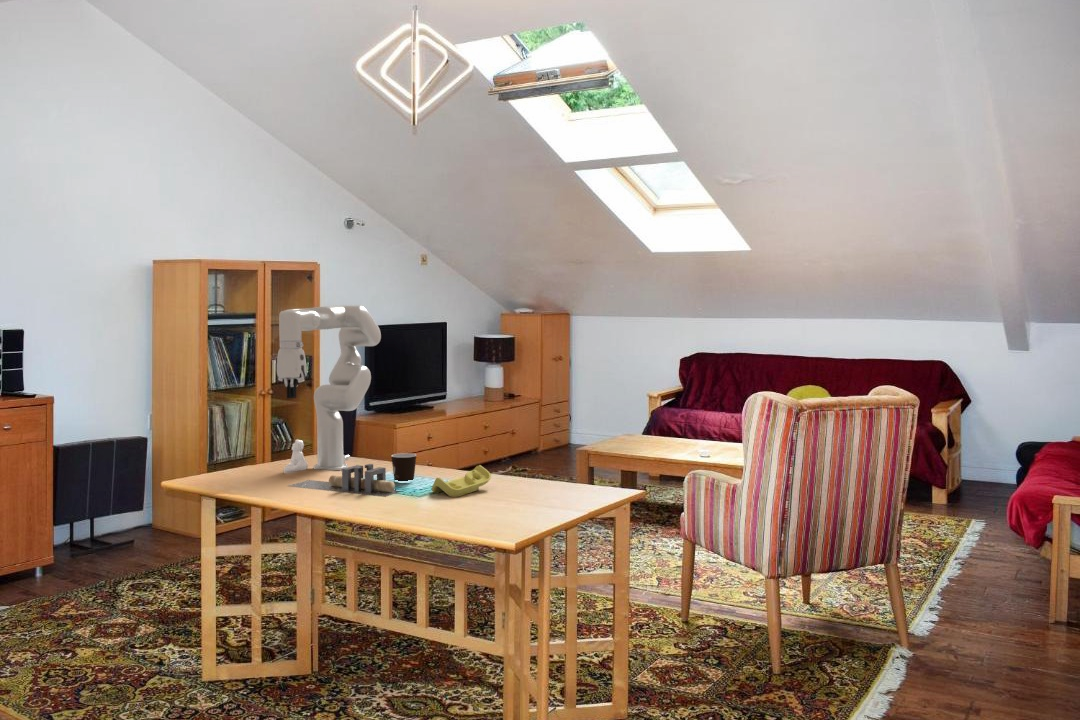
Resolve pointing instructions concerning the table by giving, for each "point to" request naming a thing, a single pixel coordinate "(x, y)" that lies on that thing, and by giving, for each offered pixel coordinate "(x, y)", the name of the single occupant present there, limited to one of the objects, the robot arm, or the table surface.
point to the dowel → (378, 484)
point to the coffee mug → (403, 466)
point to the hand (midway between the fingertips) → (291, 397)
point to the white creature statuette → (296, 458)
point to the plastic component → (463, 482)
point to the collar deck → (347, 481)
